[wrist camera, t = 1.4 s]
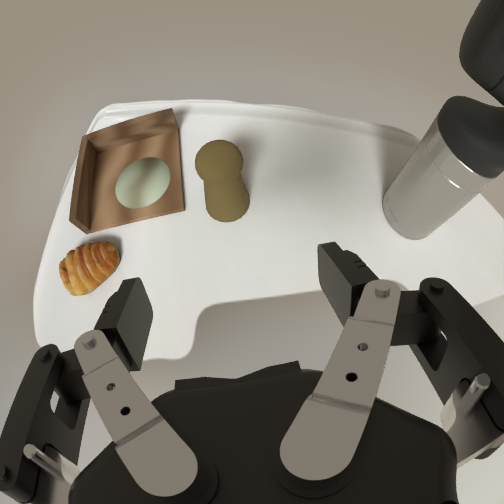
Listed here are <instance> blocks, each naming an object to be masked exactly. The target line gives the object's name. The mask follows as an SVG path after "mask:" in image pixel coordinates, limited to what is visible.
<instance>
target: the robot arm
mask: <svg viewBox="0 0 504 504" xmlns="http://www.w3.org/2000/svg"><path fill="white" fill-rule="evenodd" d="M459 58H460V63H461V66H462V67H463V69H464V70H465V72H466V73H467V74H468V75H469V76H470V77H471V78H472V79H473V80H474V81H475V82H476V83H477V84H479V85H480V86H481V87H482V88H483V89H485V90H486V91H487V92H488V93H489V94H491V95H492V96H493V97H495V99H496V100H498V101H499V102H500V103H501V104H502V105H503V106H504V0H481V1H480V3H479V5H478V7H477V8H476V10H475V12H474V14H473V16H472V18H471V19H470V21H469V23H468V26H467V28H466V30H465V32H464V35H463V38H462V41H461V46H460V53H459ZM503 171H504V107H495V106H491V105H487V104H484V103H482V102H479V101H477V100H474V99H471V98H468V97H465V96H454V97H451V98H450V99H448V100H447V101H446V103H445V104H444V105H443V107H442V109H441V110H440V112H439V114H438V115H437V117H436V118H435V120H434V122H433V123H432V125H431V126H430V128H429V129H428V131H427V133H426V134H425V136H424V137H423V139H422V140H421V142H420V143H419V145H418V146H417V148H416V149H415V151H414V152H413V154H412V155H411V157H410V158H409V160H408V161H407V163H406V164H405V166H404V167H403V169H402V170H401V171H400V173H399V174H398V176H397V177H396V179H395V180H394V182H393V183H392V184H391V186H390V187H389V189H388V190H387V191H386V193H385V195H384V198H383V210H384V214H385V216H386V218H387V221H388V222H389V224H390V225H391V227H392V228H393V229H394V230H395V231H396V232H398V233H399V234H400V235H402V236H404V237H406V238H408V239H412V240H419V239H423V238H425V237H426V236H428V235H429V234H430V233H432V232H433V231H434V230H436V229H437V228H438V227H439V226H441V225H442V224H443V223H444V222H446V221H447V220H448V219H449V218H451V217H452V216H453V215H454V214H455V213H457V212H458V211H459V210H460V209H461V208H463V207H464V206H465V205H466V204H467V203H468V202H469V201H471V200H472V199H473V198H474V197H475V196H476V195H477V194H479V193H480V192H481V191H482V190H483V189H484V188H485V187H486V186H487V185H488V184H489V183H490V182H492V181H493V180H494V179H495V178H496V177H497V176H498V175H499V174H501V173H502V172H503ZM317 250H318V275H319V282H320V285H321V288H322V290H323V292H324V293H325V295H326V297H327V298H328V300H329V302H330V304H331V306H332V307H333V309H334V311H335V313H336V314H337V316H338V318H339V320H340V322H341V323H342V325H343V327H344V329H343V331H342V334H341V336H340V338H339V340H338V342H337V345H336V347H335V349H334V351H333V353H332V356H331V358H330V360H329V362H328V364H327V366H326V368H325V370H324V372H323V371H318V370H311V369H301V368H300V365H299V362H298V361H294V362H289V363H285V364H280V365H275V366H270V367H266V368H264V369H261V370H259V371H256V372H253V373H251V374H248V375H246V376H243V377H240V378H237V379H227V378H211V377H201V378H192V379H182V380H175V389H174V390H171V391H168V392H166V393H164V394H162V395H160V396H159V397H157V398H155V399H154V400H153V401H152V402H150V401H149V399H148V398H147V397H146V396H145V394H144V393H143V391H142V390H141V389H140V387H139V386H138V385H137V383H136V382H135V380H134V379H133V378H132V376H131V375H130V371H140V369H141V365H142V361H143V356H144V352H145V348H146V344H147V339H148V335H149V331H150V327H151V324H152V320H153V310H152V306H151V303H150V301H149V298H148V296H147V293H146V291H145V288H144V285H143V283H142V281H141V279H140V278H139V277H137V278H132V279H126V280H123V282H122V284H121V286H120V288H119V290H118V292H115V293H114V294H113V295H112V296H111V297H110V298H109V299H108V301H107V303H106V305H105V308H104V309H103V311H102V313H101V315H100V317H99V319H98V321H97V323H96V325H95V328H94V330H91V331H88V332H86V333H84V334H82V335H81V336H80V337H79V338H78V339H77V340H76V342H75V345H74V349H71V350H68V351H65V352H62V353H61V352H60V350H59V349H58V347H57V346H56V345H54V344H49V345H46V346H43V347H42V348H40V349H39V350H38V351H37V352H36V353H35V355H34V357H33V359H32V361H31V363H30V365H29V367H28V369H27V371H26V373H25V376H24V378H23V380H22V382H21V385H20V387H19V389H18V392H17V394H16V397H15V399H14V401H13V404H12V406H11V409H10V412H9V415H8V417H7V420H6V422H5V425H4V428H3V431H2V434H1V438H0V491H2V492H3V493H4V494H6V495H8V496H10V497H11V498H13V499H14V500H15V501H16V502H18V503H19V504H459V502H458V498H457V492H456V470H457V468H458V467H460V466H462V465H464V464H465V463H467V462H469V461H470V460H472V459H474V458H475V459H484V458H487V457H489V456H490V455H491V454H492V453H493V452H494V451H495V450H497V449H498V448H499V447H500V446H501V445H502V444H503V443H504V342H503V341H502V340H501V339H500V337H499V336H498V335H497V334H496V333H495V332H494V330H493V329H492V328H491V327H490V326H489V325H488V324H487V323H486V321H485V320H484V319H483V318H482V317H481V316H480V315H479V314H478V313H477V312H476V310H475V309H474V308H473V307H472V306H471V305H470V304H469V303H468V302H467V301H466V300H465V299H464V298H463V297H462V296H461V295H460V294H459V293H458V292H457V291H456V289H455V288H454V287H453V286H452V285H451V284H449V283H448V282H447V281H445V280H443V279H440V278H426V279H424V280H423V281H422V282H421V283H420V287H419V290H416V291H401V290H400V288H399V287H398V285H397V284H395V283H394V282H391V281H388V280H380V279H379V278H378V277H377V276H376V275H375V274H374V273H373V272H372V271H371V270H370V268H369V267H368V266H366V264H365V263H364V262H363V261H362V260H361V259H360V258H359V257H358V255H357V254H355V253H353V252H351V251H348V250H345V251H343V250H342V249H341V248H340V247H339V246H338V245H337V243H336V242H330V243H324V244H319V245H318V249H317ZM441 331H442V332H443V333H444V334H445V336H446V338H447V340H446V339H445V337H444V336H443V335H442V334H441ZM397 345H409V346H410V348H411V349H412V351H413V353H414V354H415V356H416V357H417V359H418V361H419V362H420V364H421V366H422V367H423V369H424V371H425V373H426V374H427V376H428V378H429V379H430V381H431V383H432V385H433V387H434V388H435V390H436V392H437V394H438V396H439V397H440V399H441V401H442V403H443V405H444V407H443V409H442V412H441V422H442V425H443V429H442V428H440V427H439V426H437V425H435V424H433V423H431V422H429V421H426V420H424V419H422V418H420V417H417V416H415V415H413V414H411V413H409V412H407V411H404V410H402V409H400V408H398V407H396V406H394V405H392V404H390V403H388V402H385V401H383V400H381V399H379V398H377V397H376V395H377V392H378V388H379V385H380V382H381V378H382V375H383V371H384V368H385V364H386V360H387V356H388V352H389V348H390V346H397ZM53 391H55V392H56V393H57V394H58V396H59V400H58V404H57V407H56V410H55V413H53V411H52V409H51V406H50V400H51V397H52V394H53ZM90 398H92V401H93V403H94V405H95V407H96V409H97V411H98V413H99V415H100V417H101V419H102V421H103V423H104V424H105V426H106V428H107V430H108V432H109V434H110V435H111V437H112V439H113V441H112V442H111V443H110V444H109V445H108V446H107V447H106V448H105V449H104V450H103V451H102V452H101V453H100V454H99V455H98V456H97V457H96V458H95V459H94V460H93V461H92V462H91V463H90V464H89V465H88V466H87V467H86V468H85V469H84V470H83V471H82V472H81V473H80V472H79V469H78V468H77V463H78V457H79V451H80V446H81V440H82V434H83V430H84V425H85V420H86V416H87V411H88V407H89V402H90Z"/></svg>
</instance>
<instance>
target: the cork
mask: <svg viewBox="0 0 504 504" xmlns="http://www.w3.org/2000/svg"><path fill="white" fill-rule="evenodd" d="M242 165H243V158H242V154H241V152H240V150H239V149H238V147H237V146H236V145H234V144H233V143H231V142H229V141H226V140H215V141H211V142H209V143H206V144H205V145H204V146H203V147H201V149H200V150H199V152H198V153H197V155H196V159H195V167H196V171H197V173H198V175H199V176H200V178H201V179H202V180H204V191H205V202H206V210H207V211H208V213H209V215H210V216H211V217H212V218H214V219H215V220H218V221H220V222H232V221H235V220H237V219H239V218H241V217H242V216H243V215H244V214H245V213H246V212H247V210H248V208H249V203H250V200H249V195H248V193H247V190H246V187H245V184H244V181H243V178H242V176H241V173H240V172H241V170H242Z"/></svg>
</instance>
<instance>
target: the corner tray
mask: <svg viewBox="0 0 504 504" xmlns="http://www.w3.org/2000/svg"><path fill="white" fill-rule="evenodd" d="M181 211H185V208H184V198H183V186H182V174H181V160H180V144H179V128H178V125H177V122H176V119H175V116H174V113H173V110H172V108H170V109H166V110H162V111H158V112H155V113H151V114H147V115H144V116H140V117H137V118H134V119H131V120H127V121H124V122H121V123H118V124H115V125H112V126H109V127H106V128H103V129H101V130H98V131H95V132H92V133H90V134H87V135H85V136H83V137H82V141H81V145H80V150H79V155H78V160H77V166H76V171H75V177H74V184H73V191H72V198H71V207H70V216H69V221H70V222H71V223H73V224H74V225H75V226H76V227H78V228H79V229H80V230H82V231H83V232H84V233H86V234H89V233H93V232H97V231H100V230H104V229H108V228H112V227H116V226H120V225H124V224H128V223H133V222H137V221H141V220H145V219H149V218H154V217H158V216H163V215H167V214H172V213H176V212H181Z"/></svg>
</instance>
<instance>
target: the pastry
mask: <svg viewBox="0 0 504 504" xmlns="http://www.w3.org/2000/svg"><path fill="white" fill-rule="evenodd" d="M119 262H120V256H119V253H118V251H117V249H116V247H115V246H114V245H113V244H111V243H109V242H102V243H101V242H96V243H94V244H93V243H88V244H87V245H81V246H80V247H77V248H76V250H71V251H69V252H68V253H67V256H66V257H65V258H64V259H63V260H62V261H61V262H60V264H59V272H60V277H61V279H62V281H63V284H64V286H65V288H66V289H67V290H68V291H69V292H70V294H71V295H74V296H78V295H85V294H88V293H90V292H92V291H94V290H95V289H96V288H97V287H99V286H100V285H101V284H102V283H103V282H104V281H105V280H106V279H107V278H109V277H110V276H111V275H112V274H113V273H114V272H115V270H116V268H117V267H118V265H119Z"/></svg>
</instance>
